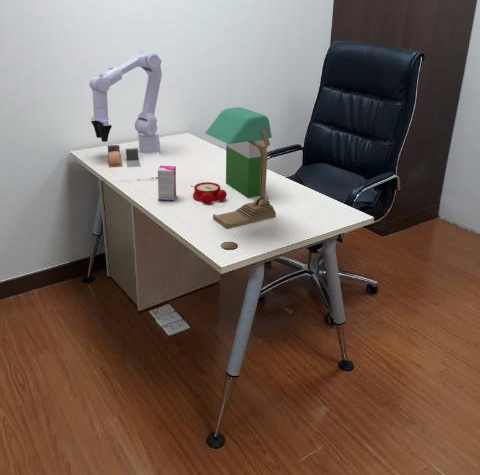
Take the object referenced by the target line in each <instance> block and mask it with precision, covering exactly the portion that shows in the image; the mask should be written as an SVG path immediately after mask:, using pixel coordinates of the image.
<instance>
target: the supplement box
mask: <svg viewBox="0 0 480 475" xmlns="http://www.w3.org/2000/svg"><path fill="white" fill-rule="evenodd" d="M176 167H177V166H174V165H160V166H159V167H158V168H157V177H158V179H157V194H158V199H157V200H158V201H159V202H175V199H176V197H177V174H176V173H177V170H176V169H177V168H176Z"/></svg>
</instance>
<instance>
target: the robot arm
mask: <svg viewBox="0 0 480 475" xmlns="http://www.w3.org/2000/svg"><path fill="white" fill-rule="evenodd" d="M161 64H162V60H161V58H160V57H159V55H158V54H157V53H155V52H148V51H147V52H145V51H143V50H142V51H139V52H138V53H136V54H134V55H133V56H132V57H131V58H129V59H128V60H126V61H125V62H124V63H121V65H119V66H118V67H116V66H109V67H108V69H107V70H105V71H104V72H100V73H99V76H97V75H96V76H93V77H92V78H91V80H90V82H88V84H89V85H88V86H89V87H90V89H91V90H92V91H91V92H92V104H93V105H92V106H93V116H92V117H90V120H91V121H90V122H91V124H92V126H93V129H94V132H95V136H96V138H97V139H100V138H101V142H102V143H104V142H105V143H106V142H108V141H109V135H110V132H111V130H112V129H111V128H113V127H112V126H113V125H111V124H109V118H110V117H109V111H108V109H109V108H108V106H109V105H108V91H109V90H110V87H111V86H112V85H115V84H116V83H117V82H119V81H121V80H122V79H123V75H124V74H127V73H128V72H131V71H133V70H134V69H136V68H137V67H138V68H141V69H143V70H144V71H145V73H146V75H147V76H148V78H147V83H146V90H145V93H144V94H145V95H144V99H143V104H142V110H141V112H140V113H138V116H137V119H136V120H135V122H134V129H135V131H136V132H137V136H138V137H137V138H138V152H140V153H143V154H153V153H158V154H159V155H161V146H160V145H161V144H160V135H159V134H157V131H158V126H157V125H158V124H157V123H158V119H157V117H156V115H155V114H156V113H155V112H156V107H157V101H158V98H159V97H158V96H159V92H160V87H161V82H162V77H163V76H162V75H163V74H162V73H163V72H162V67H161Z"/></svg>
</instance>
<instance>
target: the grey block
mask: <svg viewBox="0 0 480 475" xmlns="http://www.w3.org/2000/svg"><path fill="white" fill-rule="evenodd" d="M125 155H126V157H125V161H126V162H125V163H126V167H127V168H136V167H138V168H140V167H141V162H140V158H139V148H126V149H125Z"/></svg>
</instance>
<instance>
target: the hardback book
mask: <svg viewBox="0 0 480 475" xmlns="http://www.w3.org/2000/svg"><path fill="white" fill-rule="evenodd" d="M254 141H256V142H257V143H259V144H260V145H262V146H263V147H264V146H265V143H264V139H261V140H254ZM225 152H226V153H225V157H226V159H225V184H226V185H227V186H229V187H230V188H232V189H234V190H235V191H237V192H238V193H239V194H241V195H242V196H243V197H245V198H247V199H250V198H255V197H256V198H257V197H260V177H261V153H260V150H259V149H258V148H257V147H256V146H254V145H252V144H250V143H249V142H240V143H233V144H228V143H226V146H225ZM266 152H267V153H268V147H267V148H266Z"/></svg>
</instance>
